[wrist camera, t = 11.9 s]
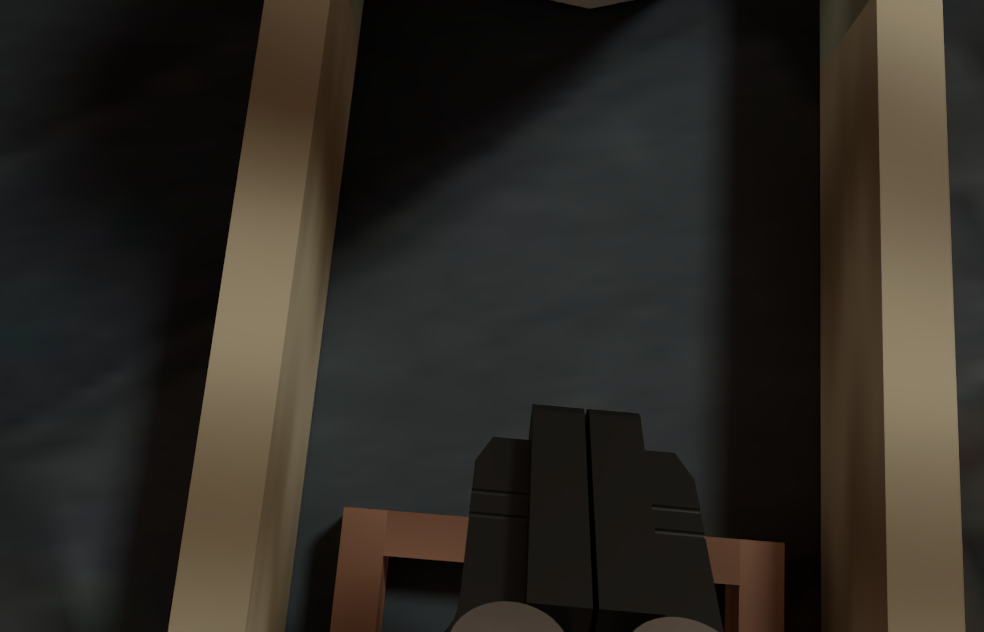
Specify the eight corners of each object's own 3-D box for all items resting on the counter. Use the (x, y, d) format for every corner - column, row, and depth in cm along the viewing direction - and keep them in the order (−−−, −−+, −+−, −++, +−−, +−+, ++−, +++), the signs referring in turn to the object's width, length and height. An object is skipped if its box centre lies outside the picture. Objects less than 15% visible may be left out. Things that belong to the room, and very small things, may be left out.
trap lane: (896, 1259, 15) (994, 1435, 12) (142, 1187, 15) (58, 1344, 12) (868, -345, 22) (924, -476, 19) (361, -377, 23) (342, -512, 20)
